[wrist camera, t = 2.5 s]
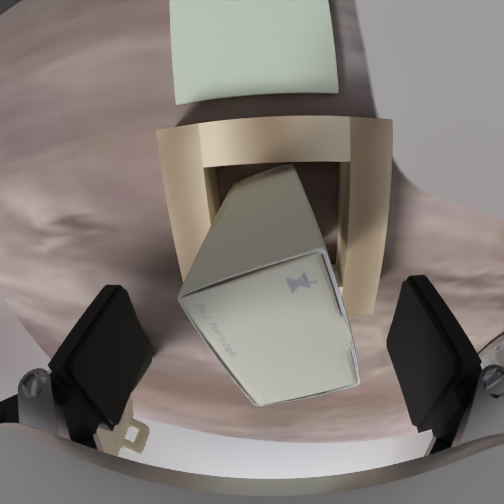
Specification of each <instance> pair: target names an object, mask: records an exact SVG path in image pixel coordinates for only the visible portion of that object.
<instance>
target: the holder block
mask: <svg viewBox="0 0 504 504" xmlns="http://www.w3.org/2000/svg"><path fill="white" fill-rule="evenodd" d="M156 134H157V142H158V149H159V157H160V164H161V170H162V177H163V183H164V189H165V195H166V201H167V207H168V212H169V217H170V223H171V228H172V233H173V238H174V243H175V248H176V253H177V257H178V262H179V266H180V271H181V275H182V280H183V283H184V281H185V278H186V276H187V274H188V272H189V270H190V268H191V266H192V264H193V262H194V260H195V258H196V255H197V253H198V251H199V249H200V247H201V245H202V243H203V241H204V239H205V237H206V235H207V233H208V231H209V229H210V227H211V225H212V223H213V221H214V219H215V217H216V215H217V213H218V211H219V209H220V202H219V193H218V184H217V176H216V166H226V165H239V164H255V163H275V162H316V161H333V162H339V207H338V231H337V249H336V263H335V264H332V267H333V271H334V274H335V277H336V280H337V283H338V286H339V290H340V293H341V296H342V299H343V303H344V306H345V310H346V314H347V316H357V315H370V314H373V310H374V305H375V300H376V295H377V290H378V285H379V279H380V273H381V267H382V261H383V255H384V248H385V240H386V232H387V224H388V214H389V204H390V191H391V174H392V120H389V119H379V118H366V117H349V116H273V117H255V118H242V119H231V120H222V121H213V122H205V123H197V124H191V125H184V126H178V127H172V128H166V129H161V130H156Z"/></svg>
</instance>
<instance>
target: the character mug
mask: <svg viewBox="0 0 504 504" xmlns="http://www.w3.org/2000/svg"><path fill="white" fill-rule="evenodd" d="M148 346H149V350H148V354H147V356H146V358H145V361H144V363H143V365H142V368H141V370H140V373H139V375H138V377H137V380H136V382H135V385H134V387H133V389H132V391H133V390H134V389H135V387H136V386H137V384H138V383H139V381H140V380H141V378H142V377H143V375H144V374H145V372H146V370H147V369H148V367H149V365H150V364H151V362H152V355H153V352H152V349H151V347H150V345H149V343H148ZM51 371H52V370H48V371H47V372H48V373H49V374H50V373H51ZM132 417H133V402H132V400H131V399H130V397H129V399H128V402H127V404H126V407H125V409H124V412H123V415H122V417H121V420H120V422H119V424H118V425H115V427H114V429H113V432H112V431H108V430H105V429H102V428H100V427H99V426H98V429H97V434H98V437H99V439H100V442H101V445H102V447H103V450H104V452H105V453H108V454H111V455H114V456H118V453H119V451H120V448H121V447H122V448H124V449H126V450H128V451H131V452H133V453H135V454H141V453H142V451H143V450H144V447H145V444H146V441H147V438H148V435H149V427H148V426H146V425H145V424H144V423H142V422H139V421H137V420H135V419H133V418H132ZM128 427H131V428H133V429H136V430H138V434H137V436H136V439H135V442H134V443H133V442H131V441H129V440H126V439H124V437H125V435H126V432H127V430H128Z"/></svg>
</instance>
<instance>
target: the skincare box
mask: <svg viewBox="0 0 504 504" xmlns="http://www.w3.org/2000/svg"><path fill="white" fill-rule="evenodd" d="M177 299H178V301H179V303H180V305H181V307H182V308H183V310H184V311H185V313H186V315H187V316H188V318H189V319H190V321H191V323H192V324H193V326H194V328H195V329H196V330H197V332H198V333H199V335H200V336H201V338H202V339H203V341H204V342H205V343H206V345H207V346H208V347H209V349H210V350H211V352H212V353H213V354H214V356H215V357H216V359H217V360H218V361H219V362H220V364H221V365H222V366H223V367H224V369H225V371H226V372H227V373H228V374H229V375H230V377H231V378H232V379H233V380H234V382H235V383H236V384H237V385H238V387H239V388H240V389H241V390H242V391H243V393H244V394H245V395H246V396H247V397H248V398H249V400H250V401H251V402H252V403H253V404H254V405H255V406H265V405H272V404H277V403H283V402H289V401H295V400H299V399H305V398H309V397H314V396H319V395H323V394H327V393H331V392H335V391H339V390H343V389H347V388H350V387H354V386H357V385H359V383H360V374H359V367H358V362H357V356H356V351H355V346H354V341H353V337H352V332H351V329H350V325H349V321H348V318H347V314H346V310H345V306H344V303H343V299H342V296H341V293H340V290H339V286H338V283H337V280H336V277H335V274H334V271H333V267H332V264H331V261H330V258H329V255H328V252H327V249H326V246H325V243H324V240H323V237H322V234H321V232H320V229H319V226H318V224H317V221H316V219H315V216H314V213H313V211H312V208H311V206H310V203H309V201H308V198H307V196H306V193H305V191H304V189H303V186H302V184H301V181H300V179H299V177H298V174H297V172H296V170H295V167H294V165H293V163H291V162H290V163H287V164H284V165H281V166H278V167H275V168H272V169H269V170H266V171H263V172H261V173H258V174H255V175H253V176H250V177H248V178H245V179H243V180H241V181H238V182H236V183H234V184H232V186H231V188H230V190H229V192H228V194H227V196H226V198H225V199H224V201H223V203H222V205H221V207H220V209H219V211H218V213H217V215H216V217H215V219H214V221H213V223H212V225H211V227H210V229H209V231H208V233H207V235H206V237H205V239H204V241H203V243H202V245H201V247H200V249H199V251H198V253H197V255H196V258H195V260H194V262H193V264H192V266H191V268H190V270H189V272H188V274H187V276H186V278H185V281H184V283H183V285H182V287H181V289H180V292H179V294H178V296H177Z"/></svg>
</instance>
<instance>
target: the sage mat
mask: <svg viewBox="0 0 504 504" xmlns="http://www.w3.org/2000/svg"><path fill="white" fill-rule="evenodd" d="M170 29H171V48H172V63H173V77H174V89H175V100H176V105H181V104H186V103H192V102H199V101H206V100H213V99H221V98H229V97H239V96H251V95H265V94H290V93H324V94H338V93H339V90H338V76H337V65H336V55H335V46H334V37H333V30H332V22H331V16H330V9H329V3H328V0H170Z"/></svg>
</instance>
